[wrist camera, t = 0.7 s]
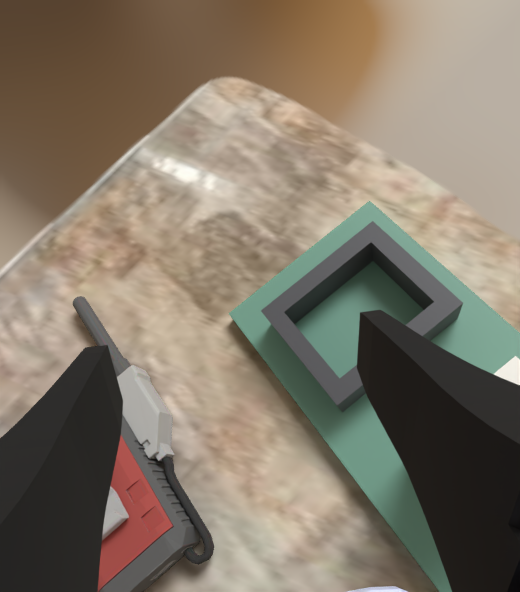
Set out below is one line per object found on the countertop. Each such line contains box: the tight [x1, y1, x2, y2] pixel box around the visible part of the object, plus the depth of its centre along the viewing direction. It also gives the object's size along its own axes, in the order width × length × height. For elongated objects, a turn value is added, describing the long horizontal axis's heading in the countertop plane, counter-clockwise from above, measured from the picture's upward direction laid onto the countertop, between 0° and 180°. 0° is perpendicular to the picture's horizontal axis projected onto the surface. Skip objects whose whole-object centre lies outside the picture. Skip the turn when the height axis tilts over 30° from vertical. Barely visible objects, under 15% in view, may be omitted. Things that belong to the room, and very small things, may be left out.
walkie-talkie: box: [73, 297, 214, 592], centre depth 29 cm, size 9×4×20 cm
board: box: [229, 201, 520, 592], centre depth 25 cm, size 20×12×4 cm, turn 36°
